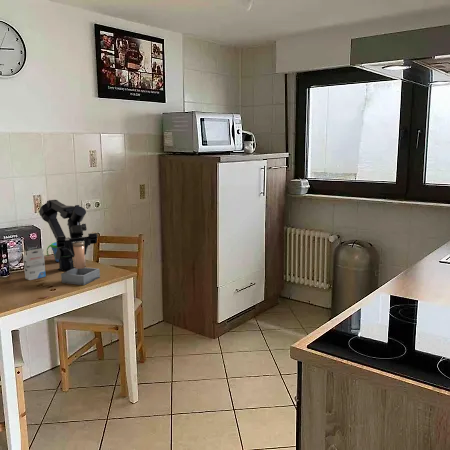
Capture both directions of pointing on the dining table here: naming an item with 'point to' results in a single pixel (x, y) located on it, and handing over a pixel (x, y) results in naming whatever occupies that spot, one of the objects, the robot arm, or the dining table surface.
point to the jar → (79, 255)
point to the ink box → (34, 264)
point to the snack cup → (54, 248)
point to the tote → (80, 276)
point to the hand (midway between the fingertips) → (79, 254)
